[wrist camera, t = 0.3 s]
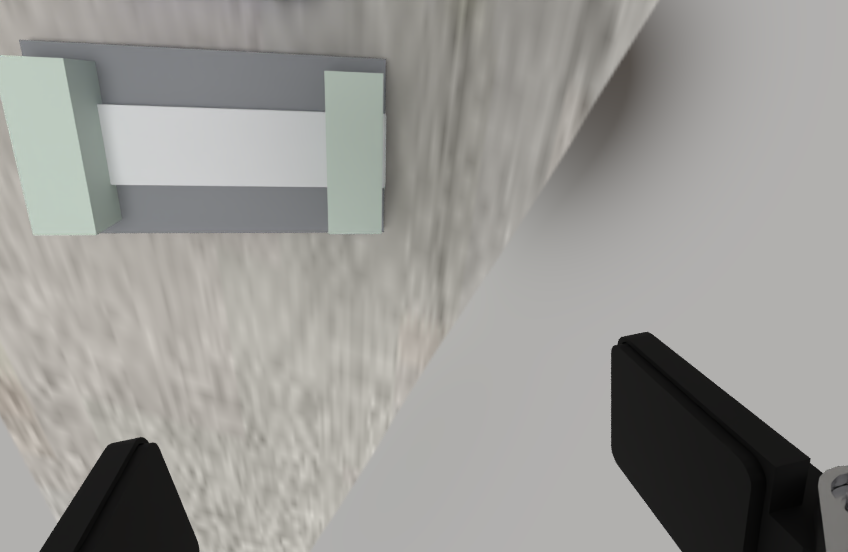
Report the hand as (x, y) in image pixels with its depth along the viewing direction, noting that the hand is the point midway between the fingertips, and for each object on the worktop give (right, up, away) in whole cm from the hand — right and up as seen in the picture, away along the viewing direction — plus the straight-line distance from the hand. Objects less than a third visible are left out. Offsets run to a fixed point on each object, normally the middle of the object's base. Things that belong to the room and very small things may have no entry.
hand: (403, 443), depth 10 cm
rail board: (-13, +13, +25) cm, 31 cm away
